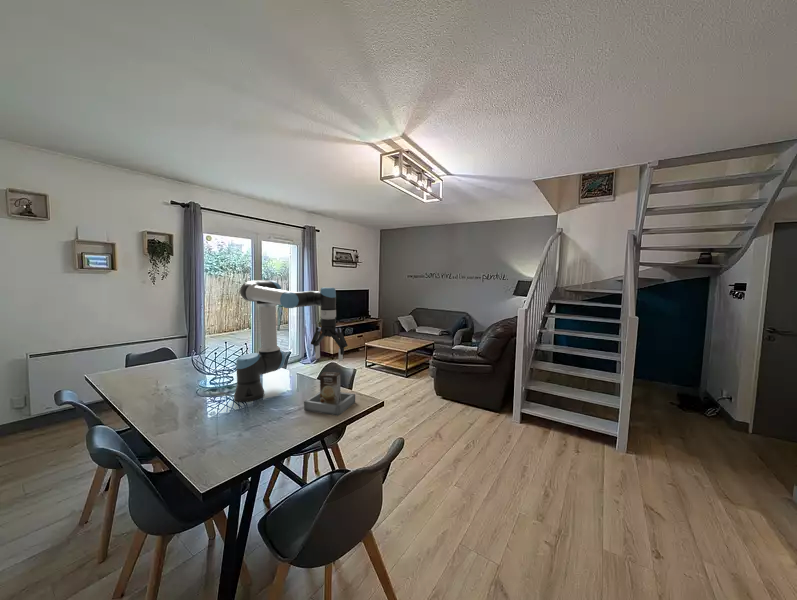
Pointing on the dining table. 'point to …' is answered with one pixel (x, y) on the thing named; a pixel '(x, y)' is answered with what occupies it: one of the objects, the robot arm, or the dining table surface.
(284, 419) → the dining table surface
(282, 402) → the dining table surface
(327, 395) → the coffee box
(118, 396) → the dining table surface
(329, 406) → the gray tray
